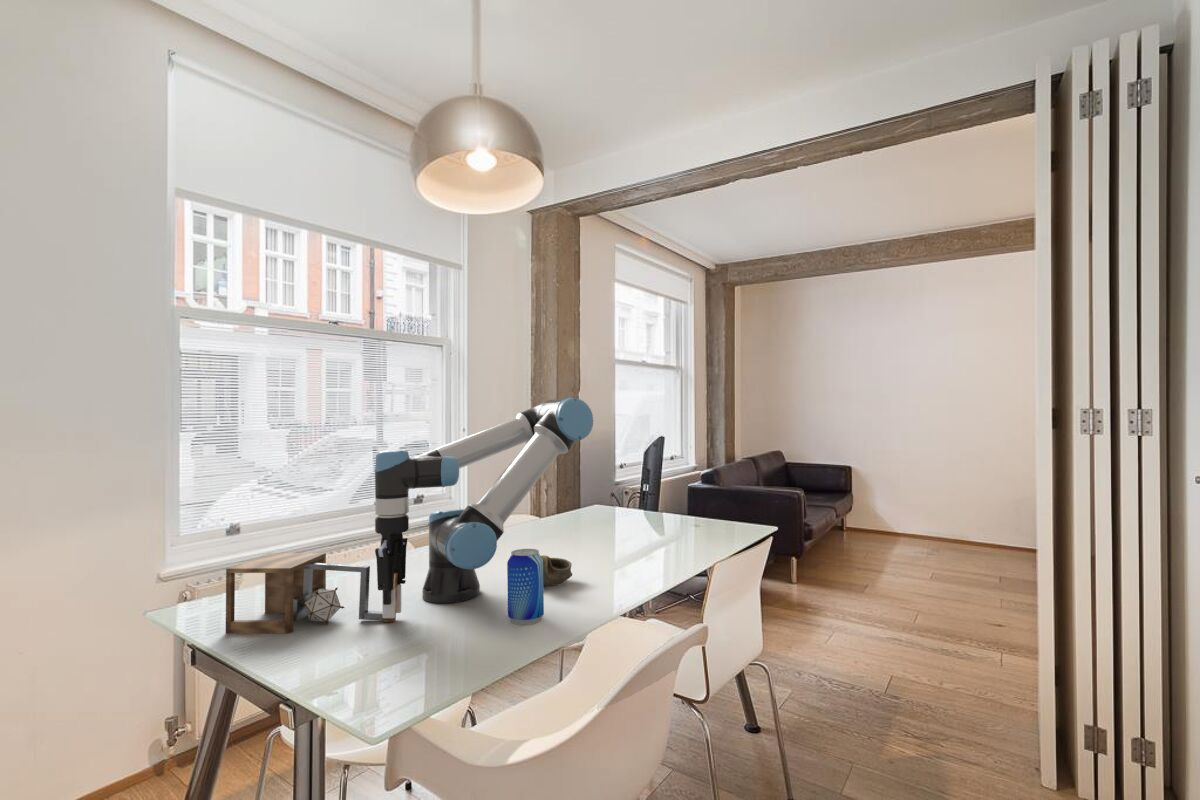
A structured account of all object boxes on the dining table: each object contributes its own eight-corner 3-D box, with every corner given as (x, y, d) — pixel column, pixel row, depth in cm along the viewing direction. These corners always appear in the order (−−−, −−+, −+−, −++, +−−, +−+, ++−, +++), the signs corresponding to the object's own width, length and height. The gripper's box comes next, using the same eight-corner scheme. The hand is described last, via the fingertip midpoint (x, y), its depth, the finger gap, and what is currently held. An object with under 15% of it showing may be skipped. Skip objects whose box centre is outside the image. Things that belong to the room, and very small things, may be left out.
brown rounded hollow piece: (575, 577, 174) (574, 544, 174) (566, 595, 156) (565, 557, 157) (530, 577, 175) (529, 544, 175) (516, 594, 157) (516, 557, 158)
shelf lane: (325, 611, 146) (325, 553, 146) (290, 633, 130) (290, 568, 131) (267, 611, 147) (268, 553, 147) (225, 633, 131) (226, 568, 132)
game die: (318, 641, 135) (304, 613, 130) (302, 620, 140) (289, 593, 135) (354, 616, 140) (342, 589, 135) (338, 597, 145) (326, 570, 140)
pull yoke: (404, 613, 142) (406, 563, 143) (384, 628, 132) (387, 573, 133) (315, 607, 145) (318, 558, 145) (289, 620, 135) (292, 568, 135)
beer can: (549, 616, 139) (548, 548, 140) (534, 627, 131) (533, 556, 132) (518, 612, 142) (517, 546, 143) (501, 624, 134) (500, 554, 135)
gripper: (390, 510, 146) (390, 604, 145) (361, 520, 130) (360, 626, 129) (419, 510, 146) (419, 604, 145) (393, 520, 130) (393, 626, 129)
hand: (392, 614), depth 137 cm, fingers closed on pull yoke, 3 cm apart
